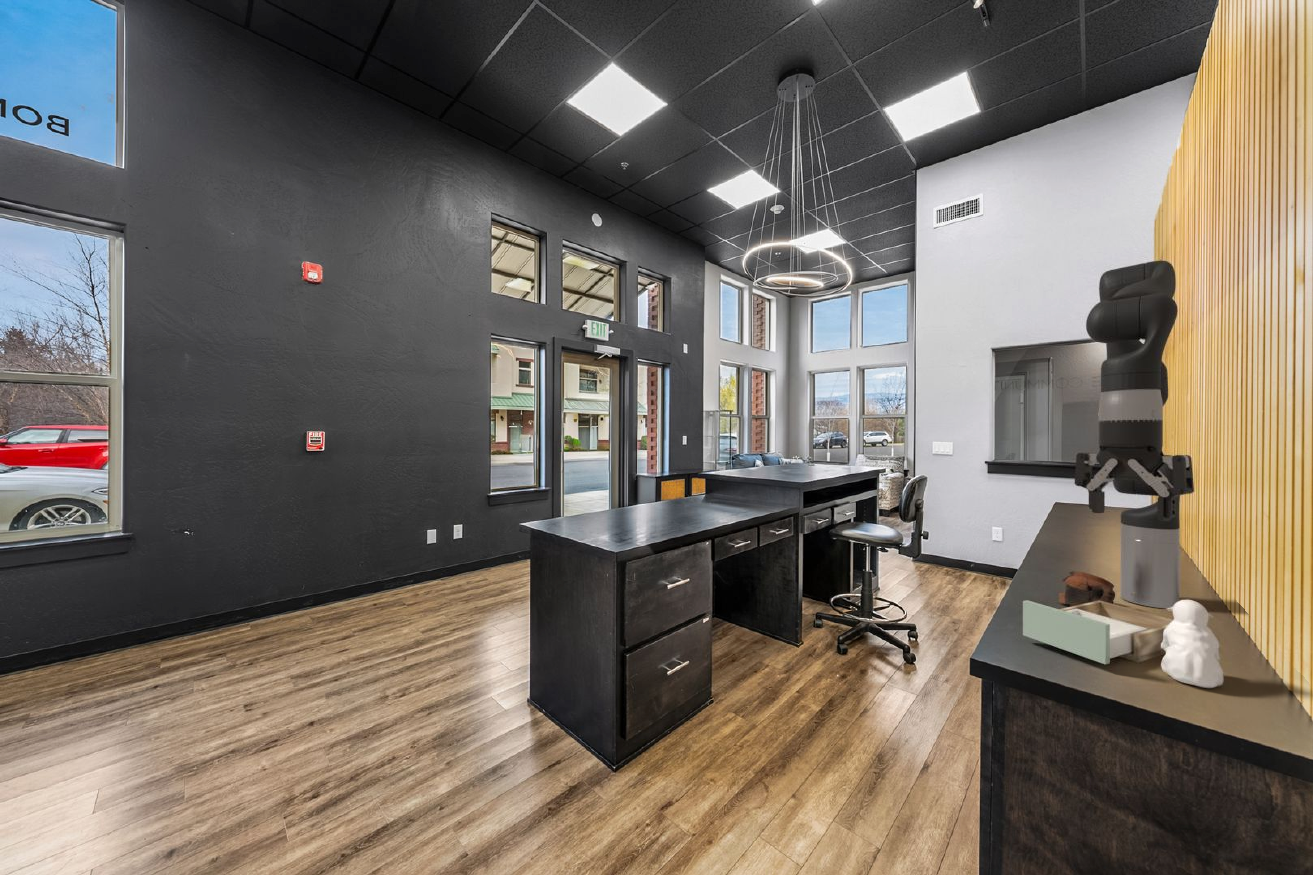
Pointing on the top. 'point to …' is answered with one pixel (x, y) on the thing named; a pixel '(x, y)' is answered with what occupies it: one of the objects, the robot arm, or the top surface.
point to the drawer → (1079, 631)
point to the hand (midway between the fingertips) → (1129, 516)
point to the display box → (1144, 642)
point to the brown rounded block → (1086, 589)
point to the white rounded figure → (1191, 647)
